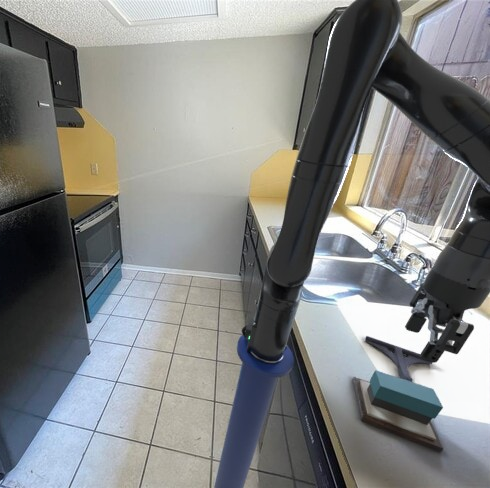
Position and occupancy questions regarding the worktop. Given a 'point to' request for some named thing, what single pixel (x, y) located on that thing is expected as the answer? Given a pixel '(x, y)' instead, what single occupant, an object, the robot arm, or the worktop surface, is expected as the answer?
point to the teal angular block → (403, 397)
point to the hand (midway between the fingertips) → (418, 344)
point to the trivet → (394, 419)
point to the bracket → (398, 356)
